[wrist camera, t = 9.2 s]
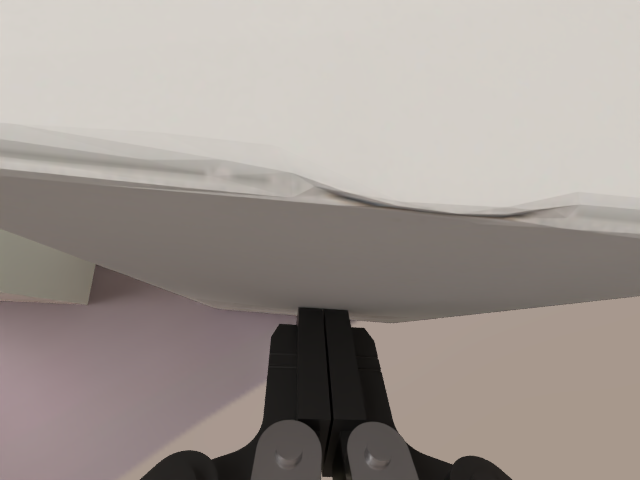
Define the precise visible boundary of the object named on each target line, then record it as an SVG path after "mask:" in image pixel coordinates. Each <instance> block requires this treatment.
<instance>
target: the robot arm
mask: <svg viewBox="0 0 640 480" xmlns="http://www.w3.org/2000/svg"><path fill="white" fill-rule="evenodd" d="M380 369H381V368H380V364H379V360H378V357H377V351H376V347H375V343H374V340H373V339H372V338H371V336H370V335H369V334H368V332H367V331H366V330H365V328H354V327H351V324H350V318H349V313H348V310H336V309H323V311H322V309H320V308H302V307H298V312H297V322H296V325H289V324H279V326H278V327H277V329H276V330H275V332H274V333H273V335H272V336H271V345H270V355H269V366H268V376H267V386H266V397H265V407H264V418H263V423H262V425H261V428H260V430H259V432H258V434H257V435H256V436H255V438H254V439H253V440H252V441H251V442H250V443H249V444H248V445H246V446H245V447H243V448H242V449H240V450H238V451H236V452H233V453H230V454H227V455H224V456H221V457H218V458H215V459H212V460H211V459H210V458H209V457H208V456H206V455H205V454H203V453H201V452H197V451H191V450H188V451H181V452H177V453H174V454H172V455H170V456H168V457H166V458H165V459H163V460H162V461H161V462H159V463H158V464H157V465H156V466H155V467H153V468H152V469H151V470H150V471H149V472H148V473H147V474H146V475H145V476H143V478H141V479H140V480H321V472H322V476H323V477H333V480H512V479H511V478H510V477H509V476H507V475H506V474H505V473H504V472H503V471H502V470H501V469H499V468H498V467H497V466H495V465H494V464H493V463H491V462H489V461H488V460H485V459H483V458H480V457H476V456H465V457H461V458H460V459H458V460H457V461H456V462H455V463H454V464H453V465H452V464H450V463H447V462H444V461H441V460H438V459H435V458H433V457H430V456H427V455H425V454H422V453H420V452H418V451H417V450H415V449H413V448H412V447H411V446H409V445H408V444H407V443H406V442H405V441H404V439H403V438H402V437H401V435H400V434H399V433H398V431H397V430H396V428H395V425H394V422H393V419H392V415H391V410H390V407H389V402H388V398H387V393H386V390H385V385H384V381H383V377H382V373H381V370H380Z"/></svg>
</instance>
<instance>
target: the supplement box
mask: <svg viewBox="0 0 640 480" xmlns="http://www.w3.org/2000/svg"><path fill="white" fill-rule="evenodd" d="M0 229H2V230H5V231H8V232H10V233H13V234H16V235H18V236H21V237H24V238H27V239H29V240H32V241H35V242H37V243H40V244H43V245H46V246H48V247H51V248H54V249H57V250H59V251H62V252H65V253H67V254H70V255H73V256H75V257H78V258H80V259H83V260H85V261H88V262H91V263H94V264H97V265H99V266H102V267H105V268H108V269H111V270H113V271H116V272H119V273H122V274H124V275H127V276H130V277H132V278H135V279H138V280H140V281H143V282H146V283H148V284H151V285H154V286H157V287H159V288H162V289H165V290H167V291H170V292H173V293H175V294H178V295H181V296H183V297H186V298H189V299H192V300H194V301H197V302H200V303H202V304H205V305H207V306H210V307H213V308H216V309H225V310H236V311H248V312H260V313H272V314H284V315H296V316H297V312H298V307H302V308H320V309H322V311H323V309H336V310H348V313H349V318H350V320H357V321H370V322H384V323H398V322H407V321H417V320H427V319H436V318H444V317H454V316H463V315H472V314H481V313H490V312H499V311H508V310H516V309H527V308H536V307H545V306H554V305H563V304H572V303H581V302H590V301H598V300H608V299H617V298H626V297H634V296H640V0H0Z"/></svg>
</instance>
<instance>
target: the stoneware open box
mask: <svg viewBox="0 0 640 480" xmlns="http://www.w3.org/2000/svg"><path fill="white" fill-rule="evenodd" d="M95 265H96V264H94V263H91V262H88V261H85V260H83V259H80V258H78V257H75V256H73V255H70V254H67V253H65V252H62V251H59V250H57V249H54V248H51V247H48V246H46V245H43V244H40V243H37V242H35V241H32V240H29V239H27V238H24V237H21V236H18V235H16V234H13V233H10V232H8V231H5V230H2V229H0V301H16V302H39V303H61V304H83V305H88V300H89V295H90V290H91V285H92V280H93V275H94V270H95Z"/></svg>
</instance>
